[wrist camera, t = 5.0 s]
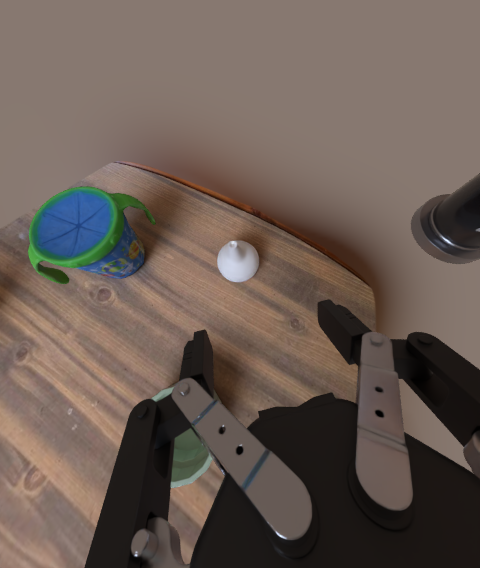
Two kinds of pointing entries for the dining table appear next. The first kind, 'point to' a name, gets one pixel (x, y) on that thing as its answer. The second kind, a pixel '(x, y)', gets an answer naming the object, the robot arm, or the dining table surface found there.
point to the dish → (187, 452)
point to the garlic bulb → (238, 261)
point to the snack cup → (86, 234)
